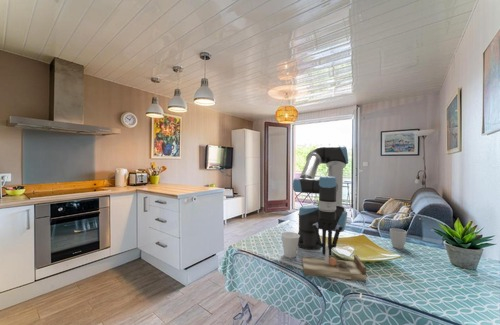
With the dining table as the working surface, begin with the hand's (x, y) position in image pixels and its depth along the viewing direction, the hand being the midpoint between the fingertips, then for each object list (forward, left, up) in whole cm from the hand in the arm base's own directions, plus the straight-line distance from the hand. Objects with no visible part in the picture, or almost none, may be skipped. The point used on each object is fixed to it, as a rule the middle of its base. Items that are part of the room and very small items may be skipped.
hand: (326, 261), depth 95 cm
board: (0, +2, -4) cm, 4 cm away
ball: (0, +3, 0) cm, 3 cm away
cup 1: (-12, -16, -4) cm, 21 cm away
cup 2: (-38, +47, -4) cm, 60 cm away
